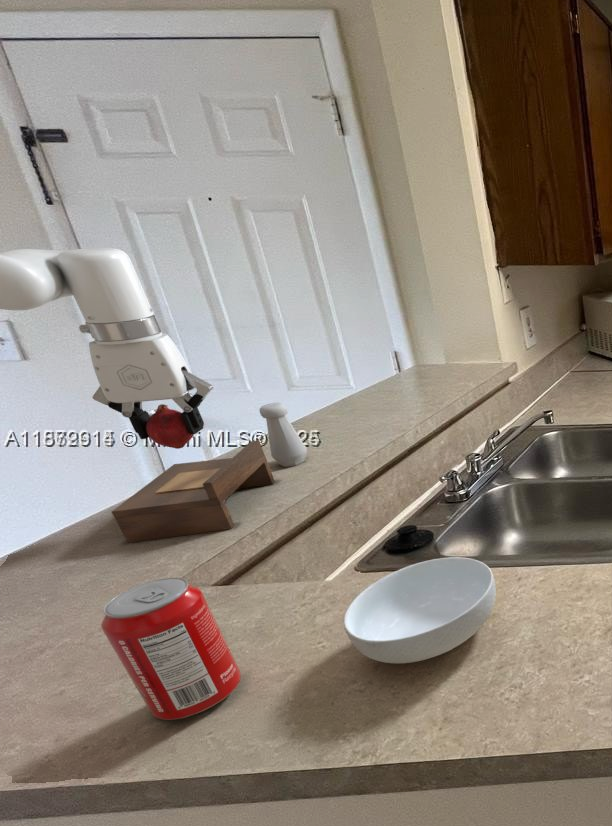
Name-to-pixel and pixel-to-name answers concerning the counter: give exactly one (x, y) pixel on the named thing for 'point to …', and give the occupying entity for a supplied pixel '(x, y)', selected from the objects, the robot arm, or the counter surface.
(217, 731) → the counter surface
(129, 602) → the soda can
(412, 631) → the cereal bowl
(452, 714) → the counter surface
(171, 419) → the pomegranate
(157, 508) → the wooden display stand
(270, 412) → the salt shaker
